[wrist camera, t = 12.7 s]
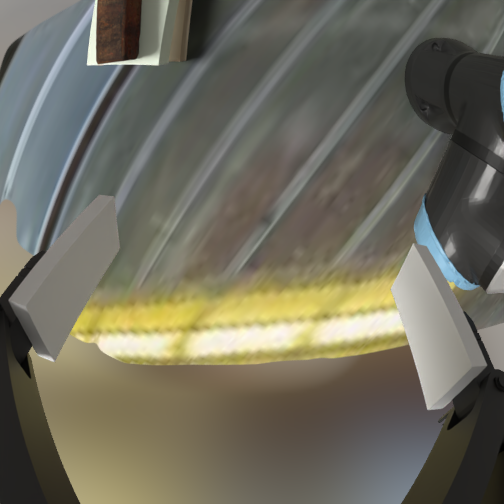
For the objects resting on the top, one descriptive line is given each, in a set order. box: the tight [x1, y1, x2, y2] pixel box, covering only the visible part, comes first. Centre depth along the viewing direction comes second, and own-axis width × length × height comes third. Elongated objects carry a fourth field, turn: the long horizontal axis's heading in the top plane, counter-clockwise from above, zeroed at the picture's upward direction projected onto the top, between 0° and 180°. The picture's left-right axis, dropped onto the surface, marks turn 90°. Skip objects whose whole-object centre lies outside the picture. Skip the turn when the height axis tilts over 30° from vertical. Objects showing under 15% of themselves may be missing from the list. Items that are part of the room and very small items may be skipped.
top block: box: [87, 0, 179, 65], centre depth 28 cm, size 10×12×4 cm
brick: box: [96, 0, 142, 64], centre depth 25 cm, size 11×4×5 cm, turn 177°
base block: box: [169, 0, 193, 61], centre depth 31 cm, size 12×12×4 cm
